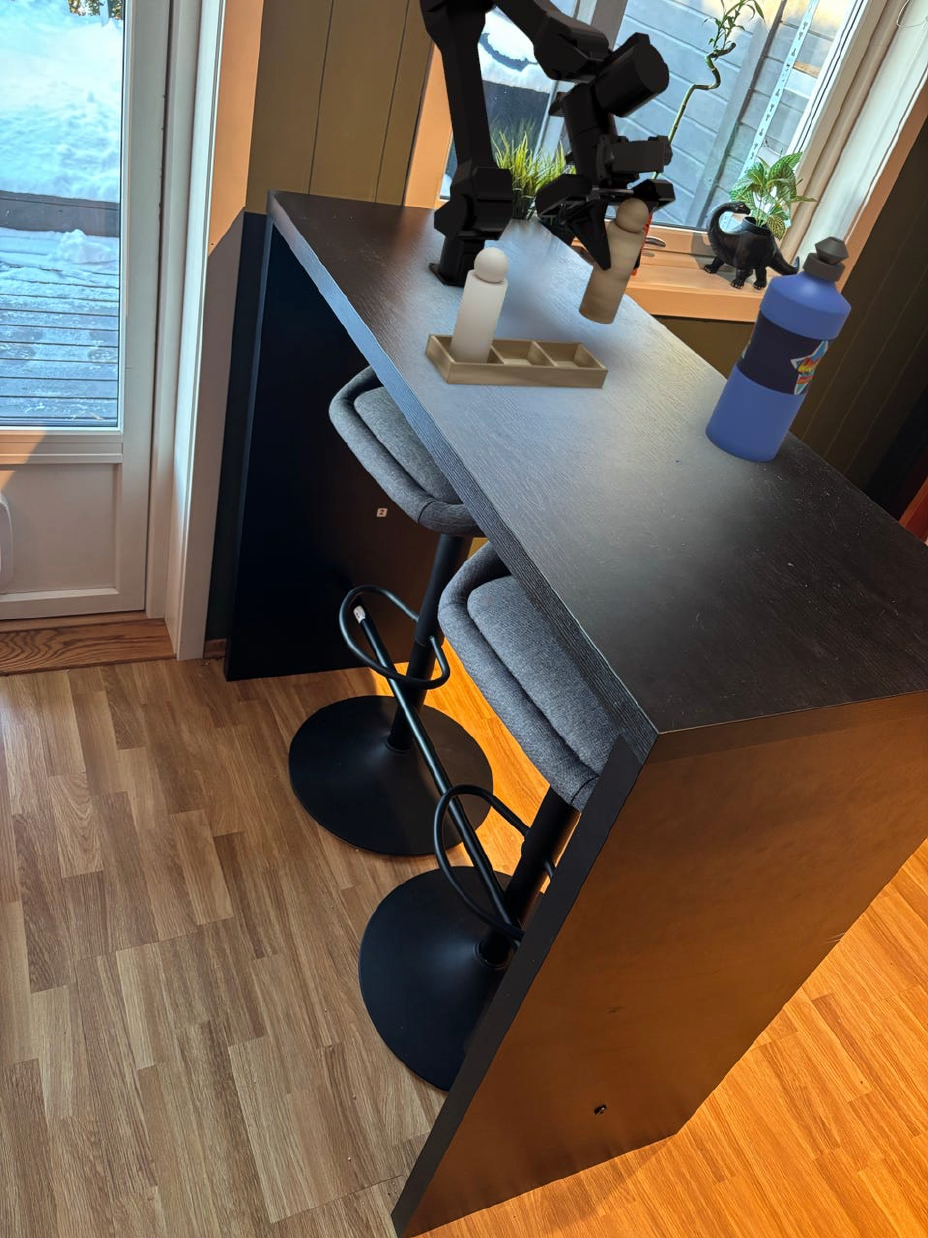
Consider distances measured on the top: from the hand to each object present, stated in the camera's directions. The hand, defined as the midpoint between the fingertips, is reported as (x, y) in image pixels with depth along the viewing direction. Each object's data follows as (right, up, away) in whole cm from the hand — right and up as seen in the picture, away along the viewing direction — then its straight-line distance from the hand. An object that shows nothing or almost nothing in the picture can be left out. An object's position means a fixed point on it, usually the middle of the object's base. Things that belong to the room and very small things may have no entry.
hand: (621, 269), depth 114 cm
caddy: (-13, -12, +2) cm, 18 cm away
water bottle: (+15, -20, +3) cm, 26 cm away
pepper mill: (-2, -4, +5) cm, 7 cm away
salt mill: (-19, -12, -2) cm, 23 cm away
